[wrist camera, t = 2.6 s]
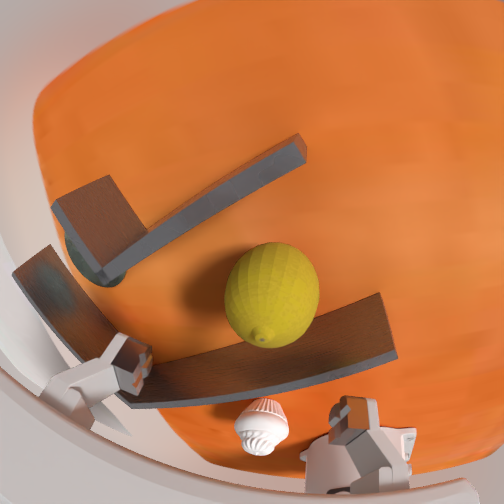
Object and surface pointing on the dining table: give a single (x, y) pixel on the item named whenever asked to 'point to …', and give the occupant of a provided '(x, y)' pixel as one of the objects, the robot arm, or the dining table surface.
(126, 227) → the rail corridor
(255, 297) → the lemon
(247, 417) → the white rounded piece
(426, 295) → the dining table surface
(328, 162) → the dining table surface
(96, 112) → the dining table surface
